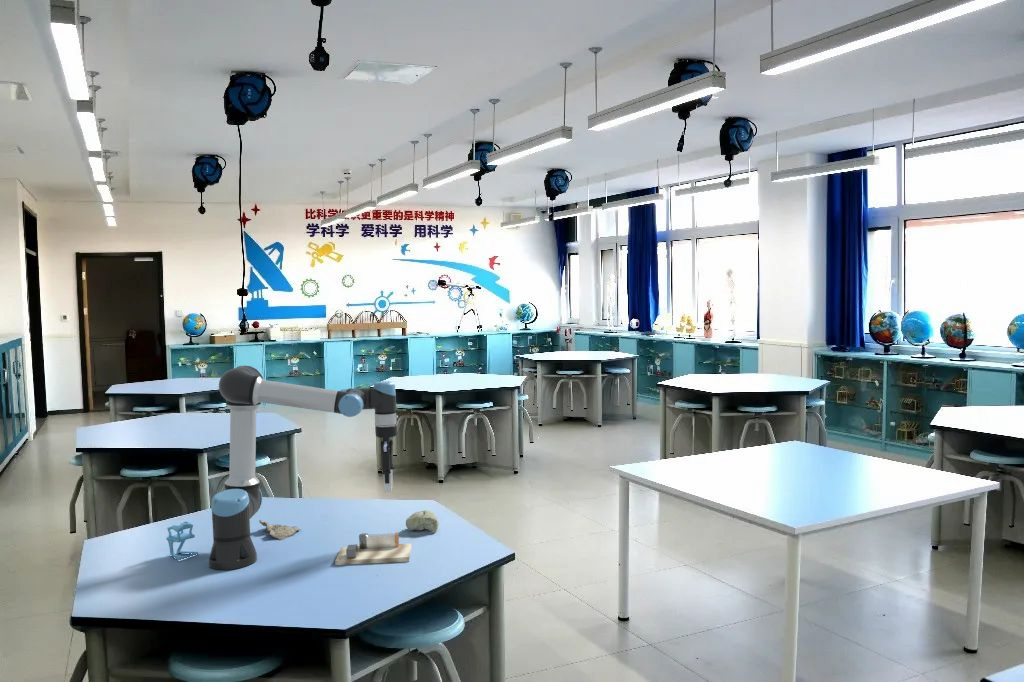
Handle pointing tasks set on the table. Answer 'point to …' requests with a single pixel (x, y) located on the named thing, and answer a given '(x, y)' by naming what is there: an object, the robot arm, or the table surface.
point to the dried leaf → (280, 530)
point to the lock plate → (376, 555)
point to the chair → (180, 538)
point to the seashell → (422, 521)
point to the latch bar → (378, 540)
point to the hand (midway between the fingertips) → (388, 489)
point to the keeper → (351, 551)
